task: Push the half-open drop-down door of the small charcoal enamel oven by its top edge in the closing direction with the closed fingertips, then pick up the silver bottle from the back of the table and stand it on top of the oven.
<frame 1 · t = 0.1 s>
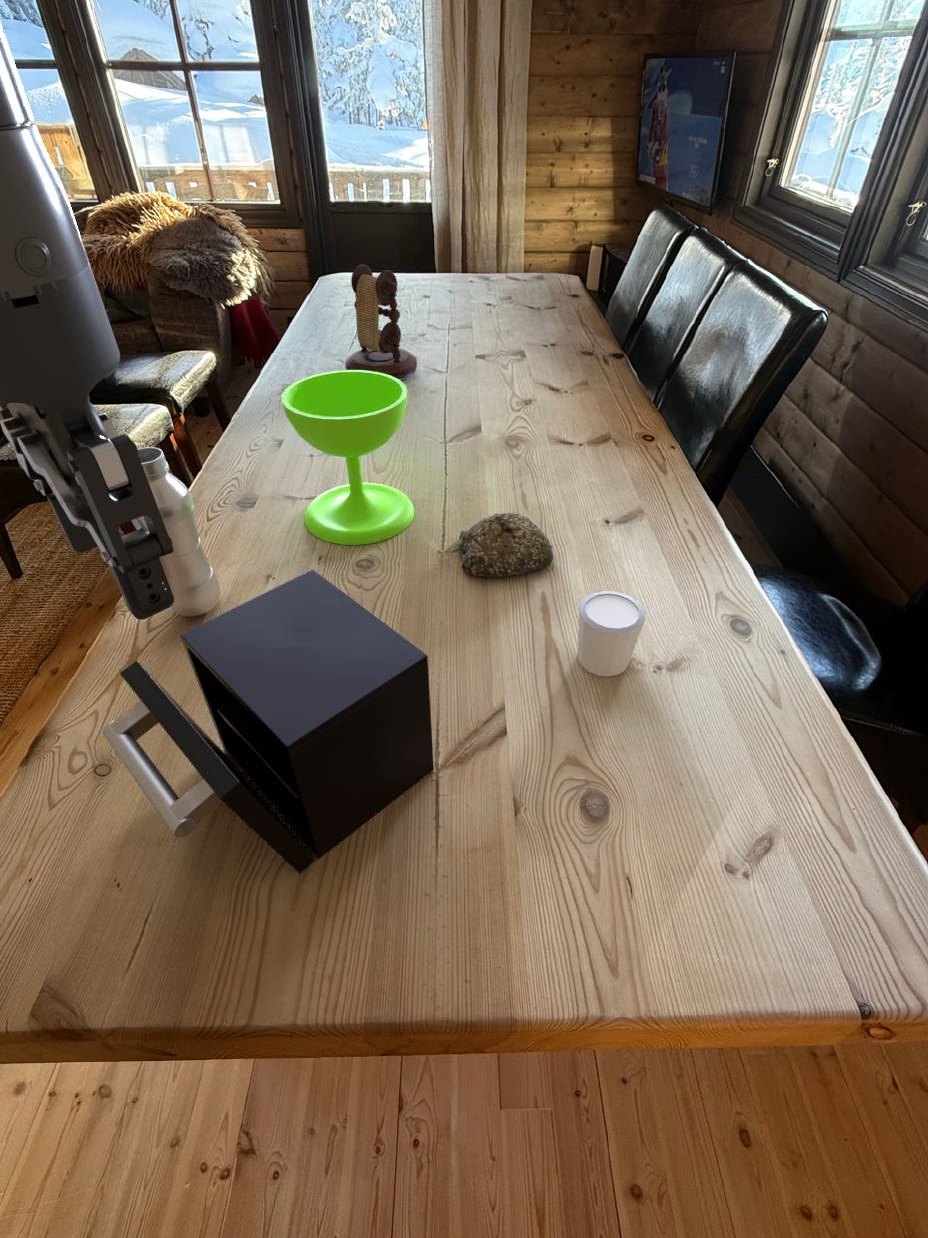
hand: (121, 576, 38), 28 cm above the table, tool pointing down, fingers open, 8 cm apart
oven door: (200, 785, 52), point 7 cm above the table, hinge at 13.4°
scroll: (382, 373, 138), on the table
bread roll: (502, 552, 89), on the table
white cylindrical container: (602, 659, 73), on the table
oven: (327, 759, 63), on the table
silver bottle: (197, 607, 80), on the table
wineglass: (360, 515, 96), on the table
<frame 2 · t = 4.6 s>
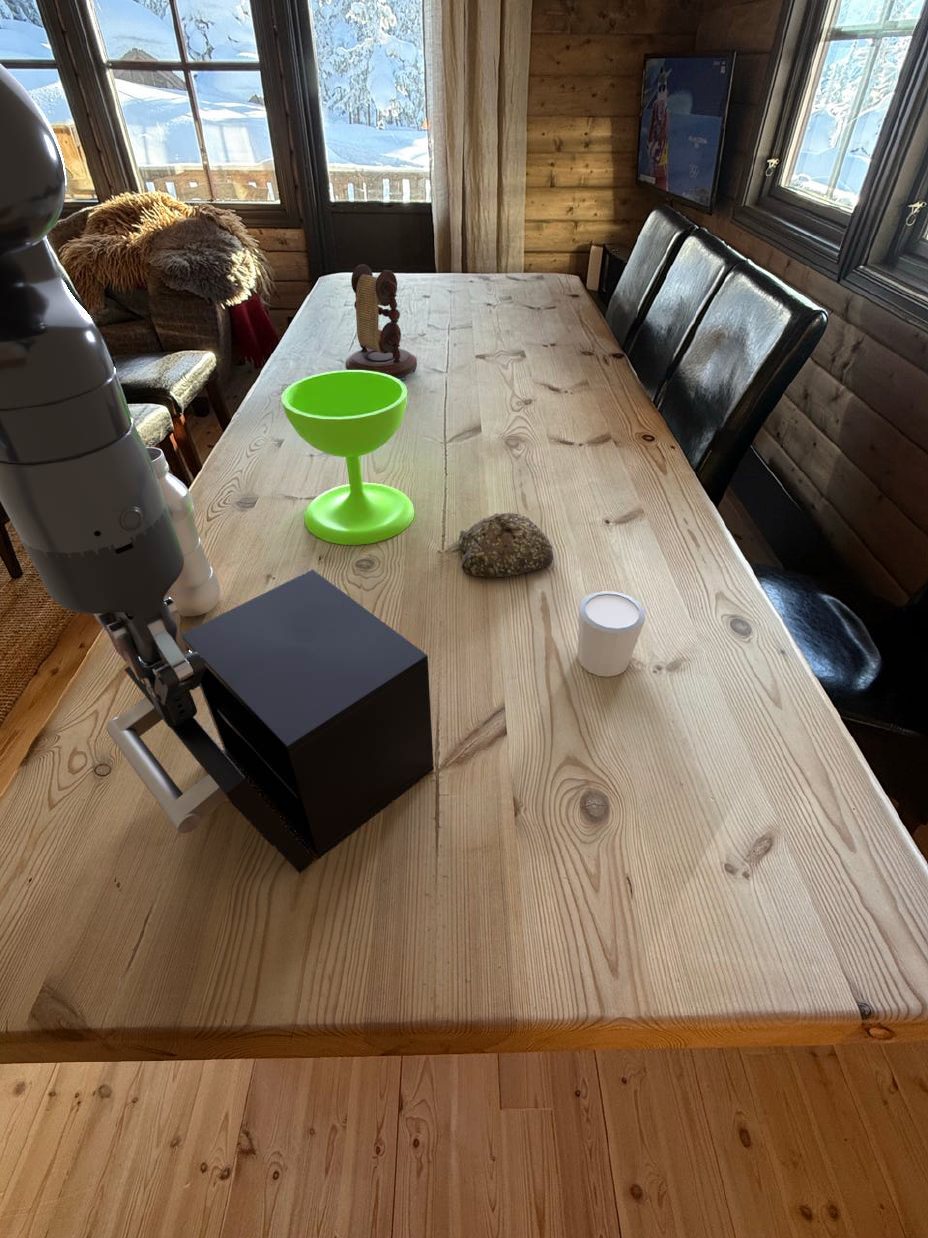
hand: (180, 716, 48), 15 cm above the table, tool pointing down, fingers closed
oven door: (202, 783, 52), point 7 cm above the table, hinge at 11.7°, touching gripper
everything else where it was.
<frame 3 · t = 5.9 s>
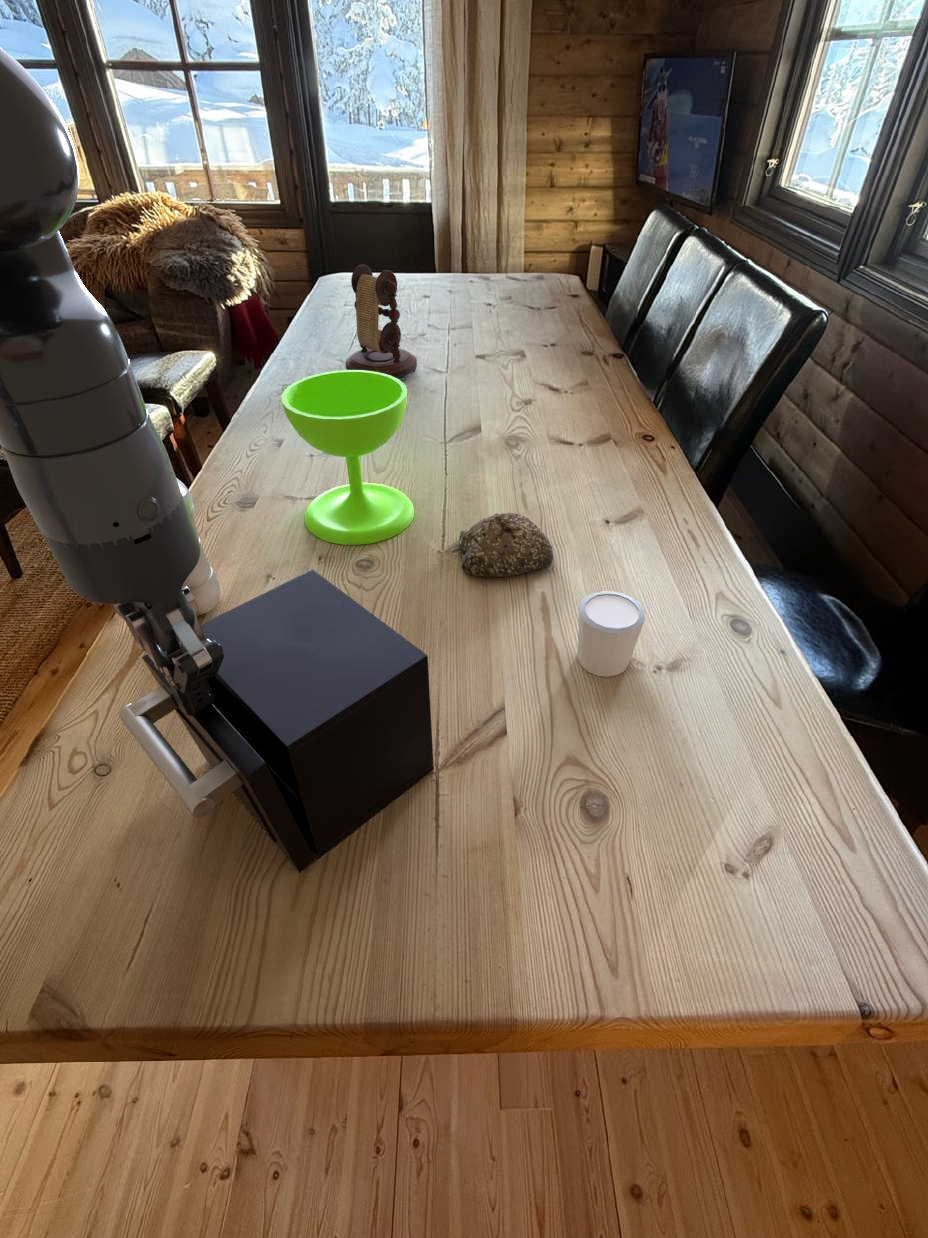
hand: (198, 704, 48), 15 cm above the table, tool pointing down, fingers closed
oven door: (209, 775, 53), point 7 cm above the table, hinge at 5.6°, touching gripper
everything else where it was.
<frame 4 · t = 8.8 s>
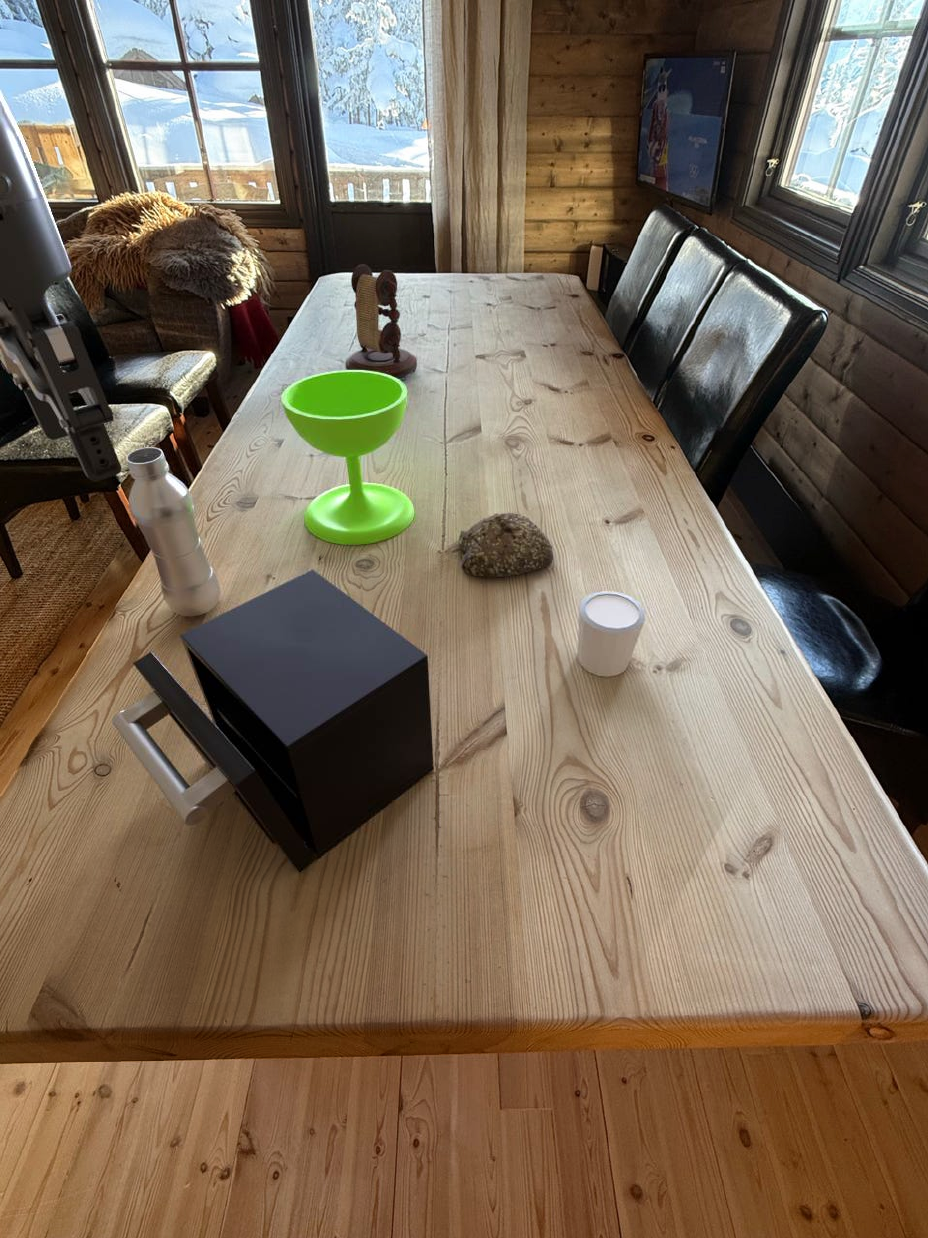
hand: (83, 454, 48), 29 cm above the table, tool pointing down, fingers open, 8 cm apart
oven door: (205, 779, 53), point 7 cm above the table, hinge at 8.7°
everything else where it was.
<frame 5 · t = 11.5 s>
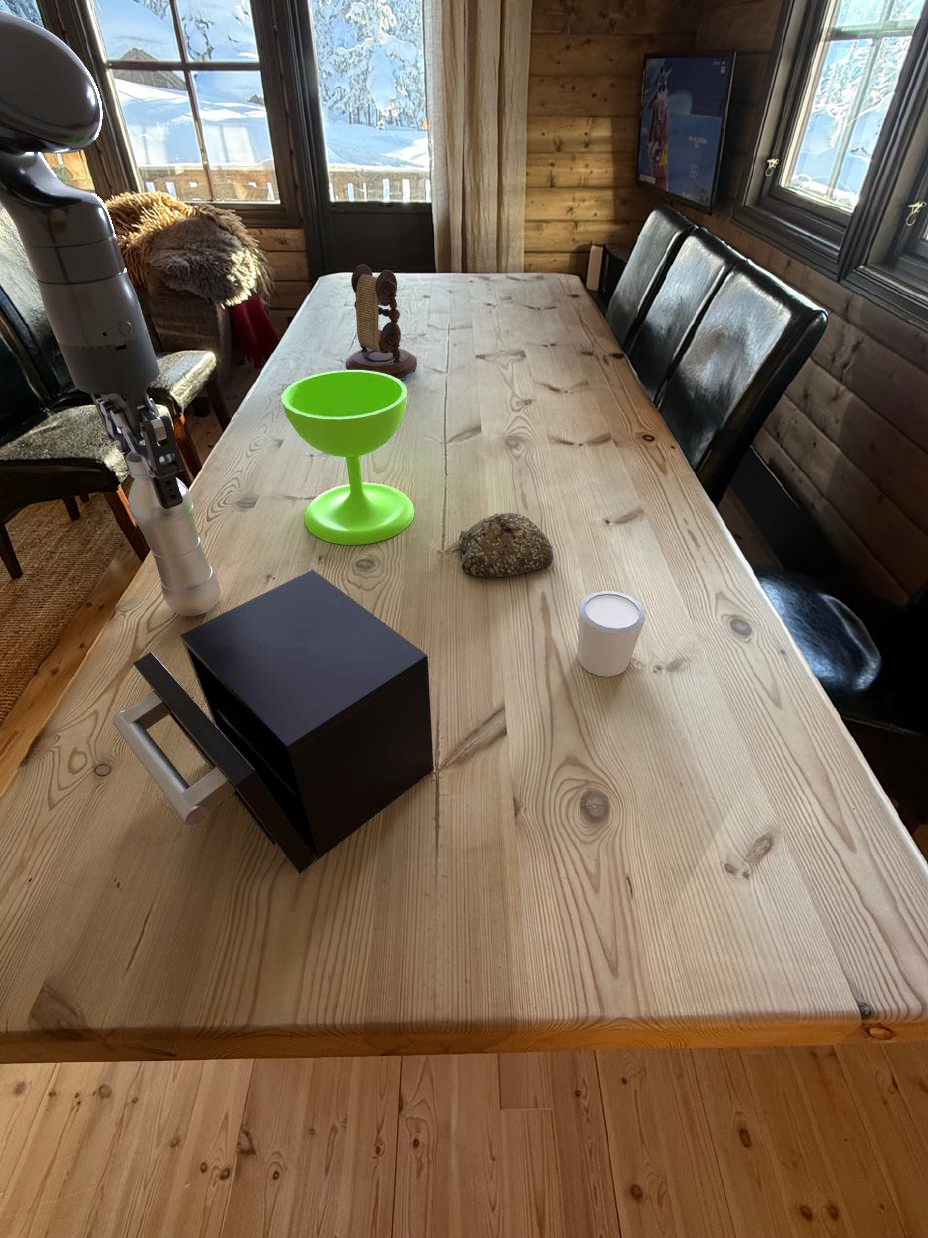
hand: (158, 493, 70), 16 cm above the table, tool pointing down, fingers closed on silver bottle, 6 cm apart
silver bottle: (197, 607, 80), on the table, touching gripper
everything else where it was.
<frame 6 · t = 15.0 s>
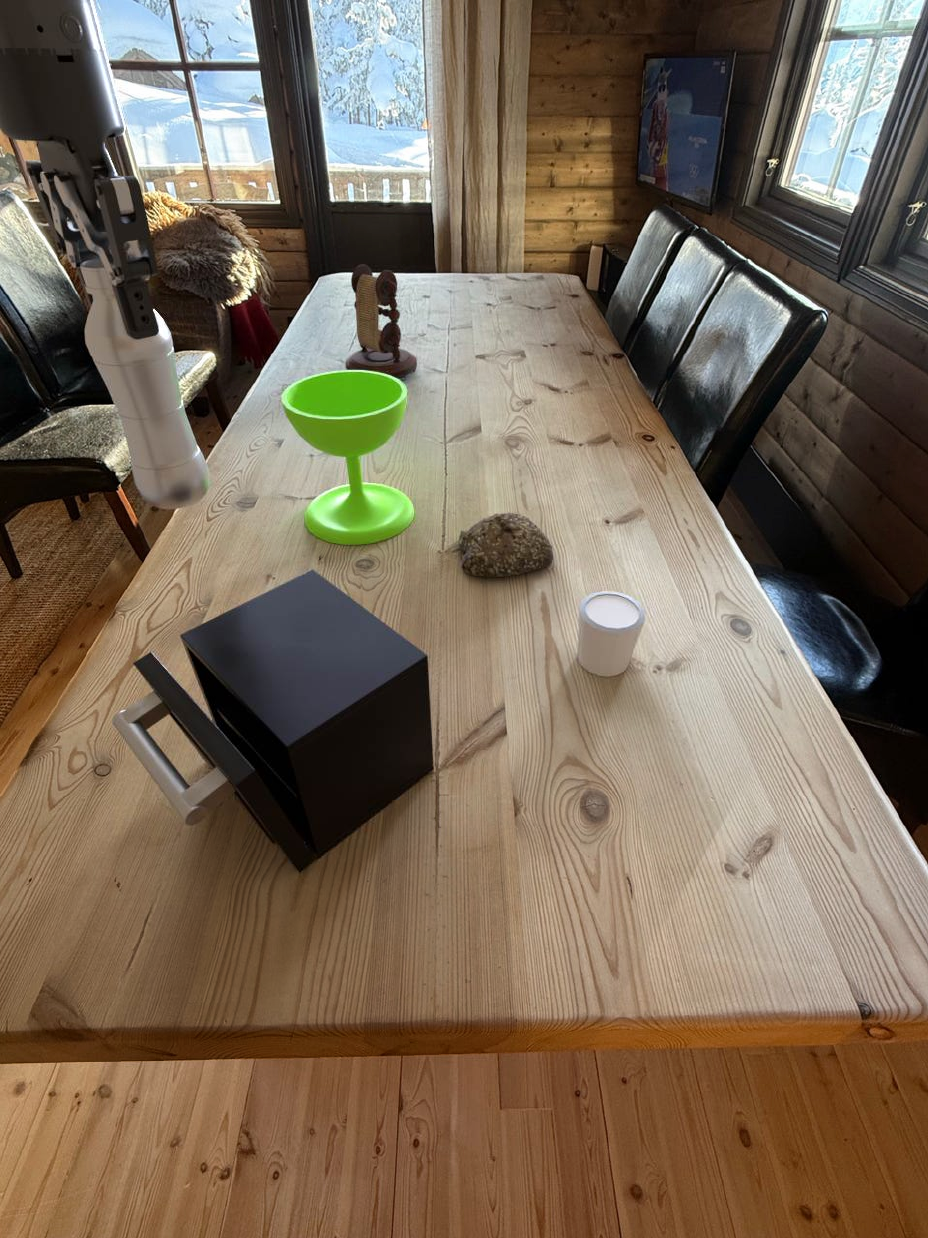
hand: (126, 326, 52), 35 cm above the table, tool pointing down, fingers closed on silver bottle, 6 cm apart
silver bottle: (180, 502, 62), point 19 cm above the table, touching gripper
everything else where it was.
when the fingers open (31 cm above the table, at t = 18.7 s): silver bottle stays where it is, resting on oven.
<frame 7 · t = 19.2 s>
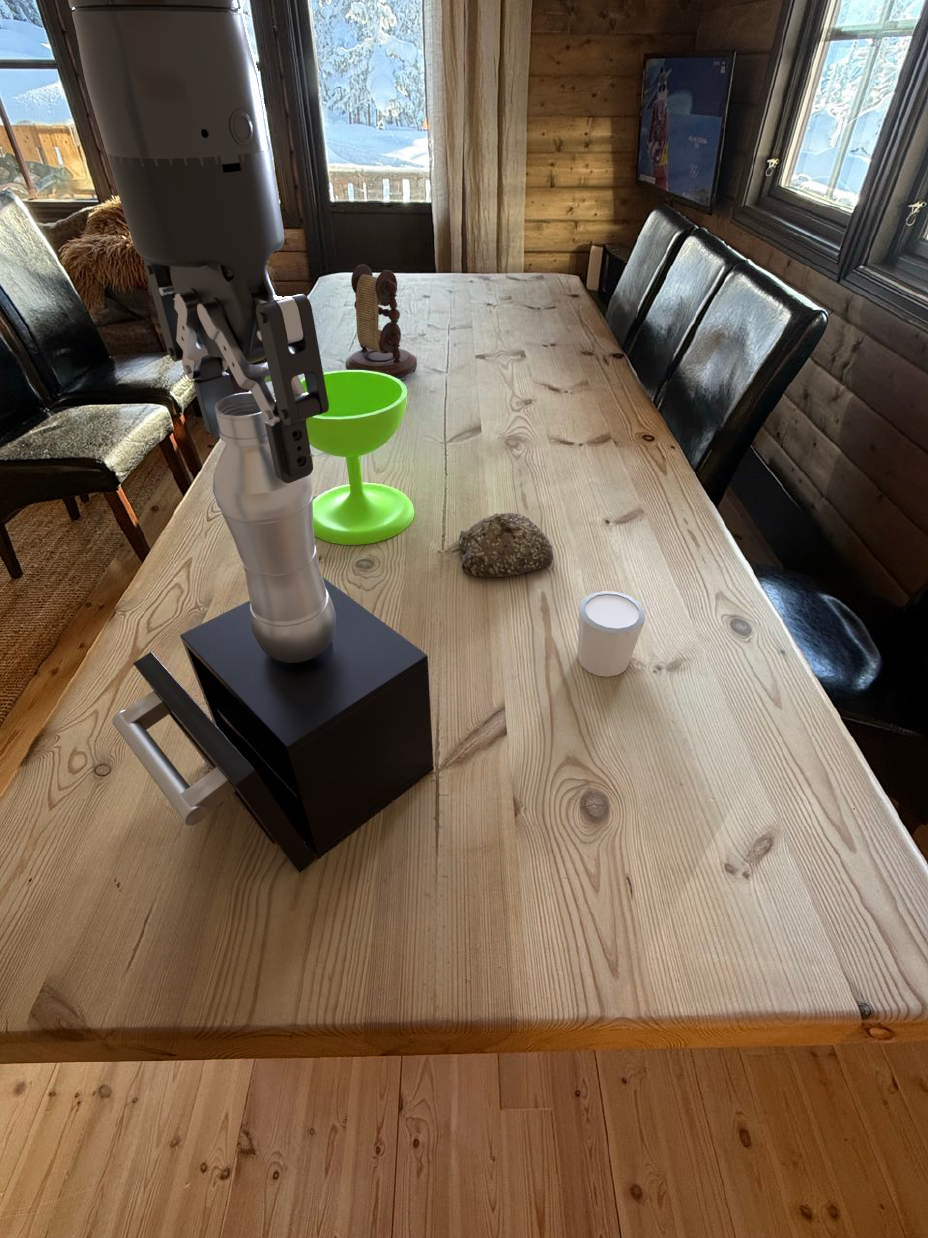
hand: (258, 453, 42), 32 cm above the table, tool pointing down, fingers open, 8 cm apart
silver bottle: (300, 646, 53), point 15 cm above the table, touching oven
everything else where it was.
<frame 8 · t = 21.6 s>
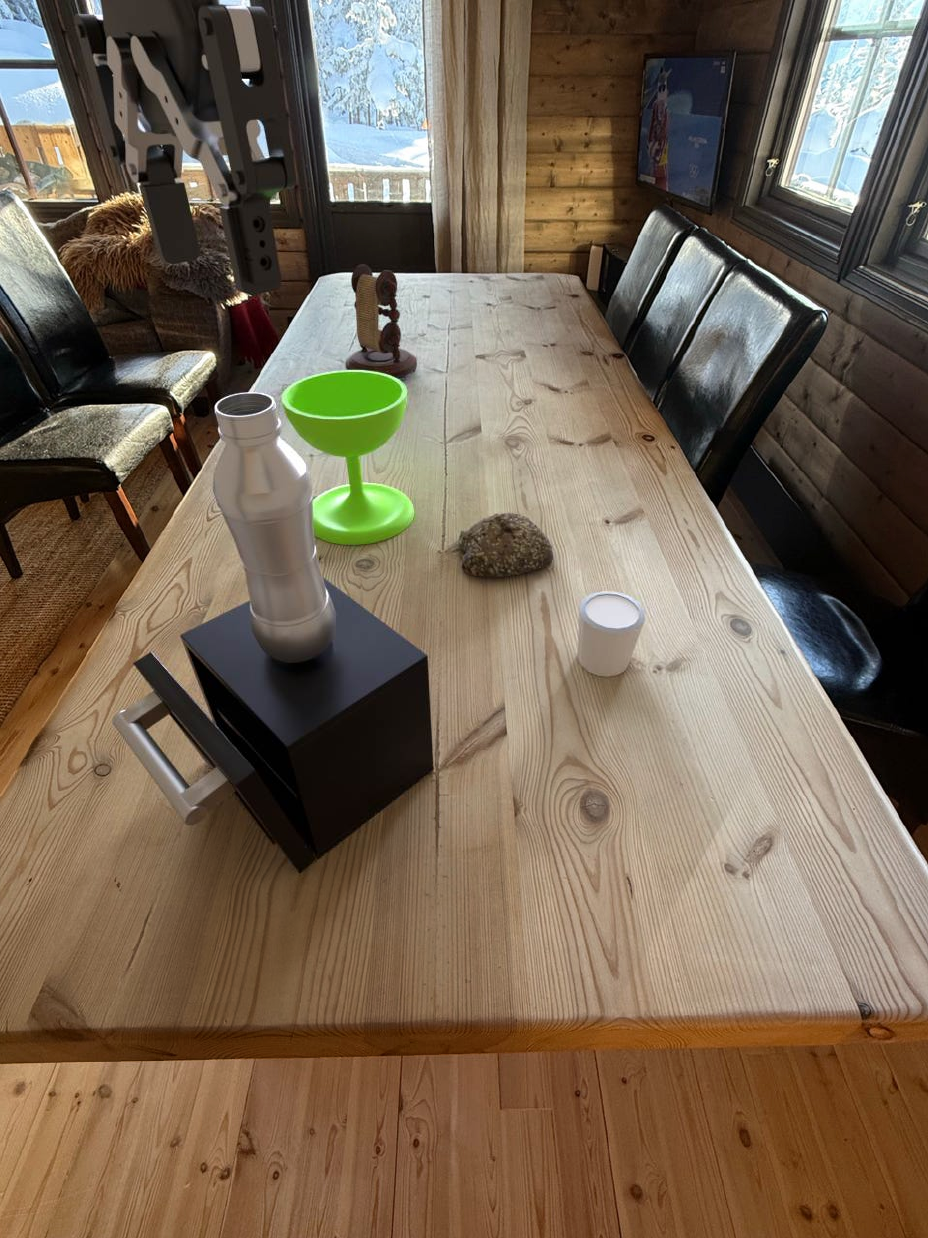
hand: (218, 275, 35), 42 cm above the table, tool pointing down, fingers open, 8 cm apart
nothing on the table moved.
at the end: oven door at +9° (first picture: +14°); silver bottle inside the target area on the oven (0.1 cm from its centre), point 14.8 cm above the oven's base; silver bottle tilted 0° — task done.
